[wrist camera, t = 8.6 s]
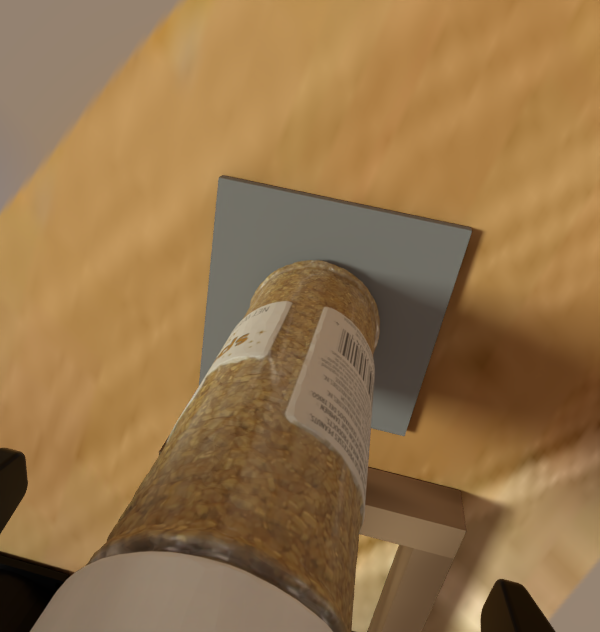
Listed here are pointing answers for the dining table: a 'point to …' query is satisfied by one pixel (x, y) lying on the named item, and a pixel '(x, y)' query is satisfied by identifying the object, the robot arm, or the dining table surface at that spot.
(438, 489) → the walnut collar stand
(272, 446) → the sprinkles bottle
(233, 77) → the dining table surface
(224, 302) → the grey flat square slab
